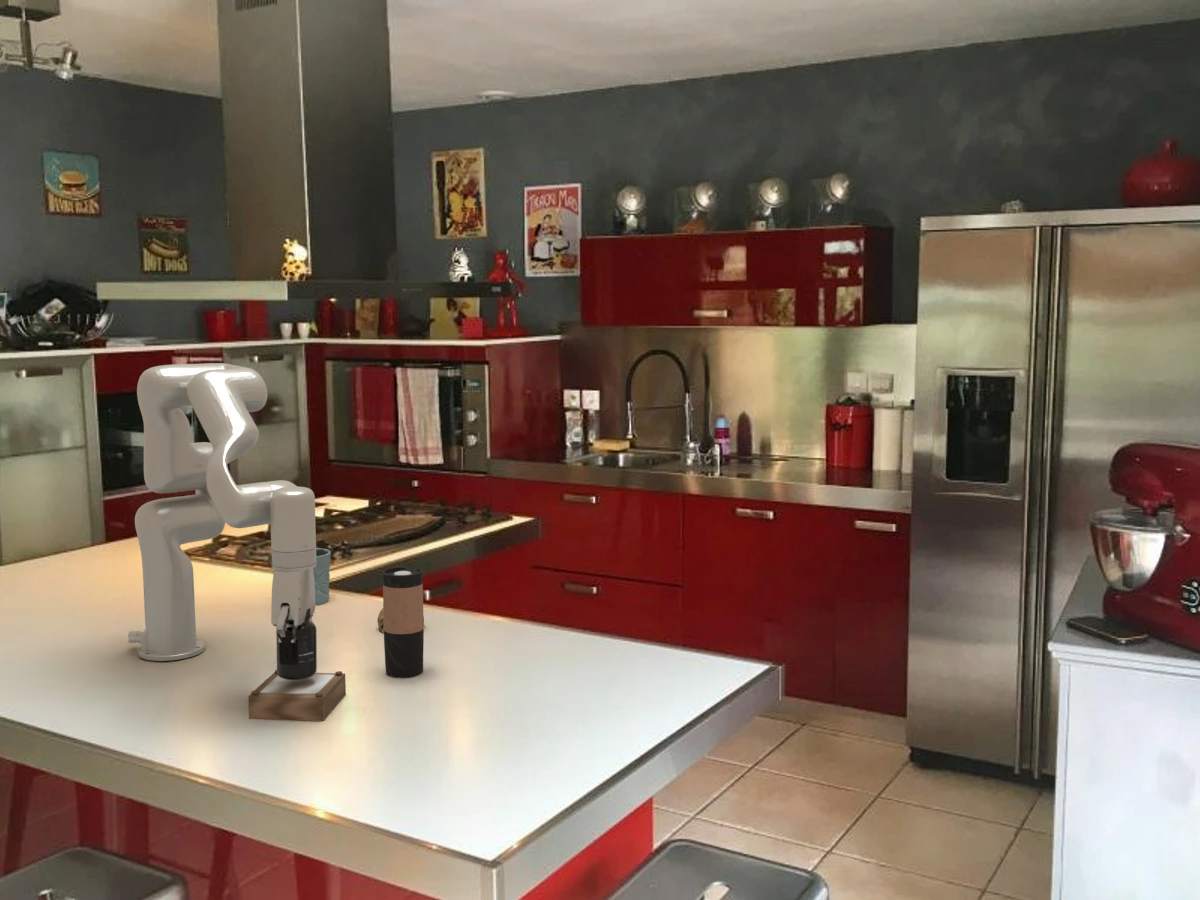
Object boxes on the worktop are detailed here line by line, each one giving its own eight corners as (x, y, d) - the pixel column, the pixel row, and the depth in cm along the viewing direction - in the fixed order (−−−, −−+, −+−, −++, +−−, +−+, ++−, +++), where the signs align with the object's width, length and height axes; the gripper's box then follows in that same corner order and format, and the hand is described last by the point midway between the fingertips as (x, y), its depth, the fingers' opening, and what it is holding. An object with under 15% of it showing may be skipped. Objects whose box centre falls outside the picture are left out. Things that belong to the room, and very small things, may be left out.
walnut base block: (249, 718, 195) (248, 693, 194) (276, 692, 207) (275, 668, 207) (323, 720, 194) (322, 695, 193) (345, 694, 206) (345, 670, 206)
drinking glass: (340, 600, 272) (339, 551, 270) (308, 609, 263) (307, 559, 262) (310, 594, 277) (309, 546, 276) (278, 603, 269) (277, 553, 267)
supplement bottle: (306, 682, 196) (304, 614, 194) (270, 679, 197) (268, 612, 196) (323, 669, 203) (322, 604, 201) (288, 666, 204) (286, 601, 202)
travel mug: (391, 680, 214) (389, 577, 212) (379, 669, 221) (377, 568, 218) (429, 674, 218) (428, 573, 215) (417, 663, 224) (415, 564, 222)
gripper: (290, 546, 206) (292, 642, 208) (254, 569, 189) (257, 672, 191) (330, 547, 205) (332, 643, 208) (298, 570, 188) (301, 674, 191)
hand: (296, 656), depth 199 cm, fingers closed on supplement bottle, 6 cm apart
